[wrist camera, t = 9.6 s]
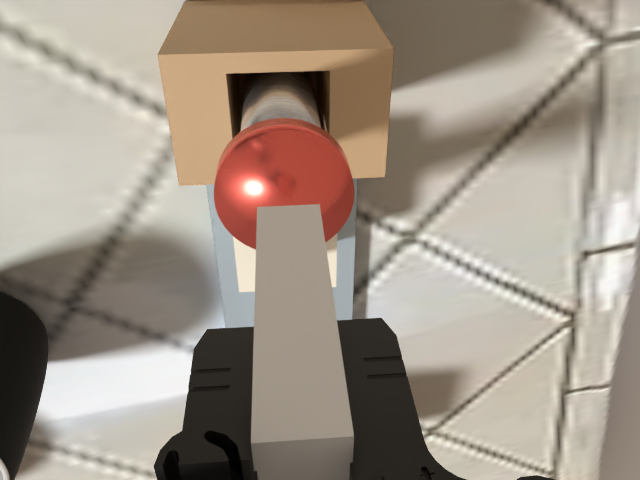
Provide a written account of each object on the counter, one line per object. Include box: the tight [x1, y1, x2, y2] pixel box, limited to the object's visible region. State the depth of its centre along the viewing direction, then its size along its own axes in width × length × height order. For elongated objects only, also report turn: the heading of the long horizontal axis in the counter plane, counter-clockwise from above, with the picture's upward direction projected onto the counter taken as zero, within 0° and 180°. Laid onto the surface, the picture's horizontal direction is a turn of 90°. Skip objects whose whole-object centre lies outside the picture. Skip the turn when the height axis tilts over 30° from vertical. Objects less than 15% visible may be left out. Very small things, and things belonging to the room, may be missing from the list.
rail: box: [158, 0, 394, 328], centre depth 31 cm, size 32×8×9 cm, turn 0°
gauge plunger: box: [214, 71, 355, 250], centre depth 20 cm, size 4×4×9 cm
